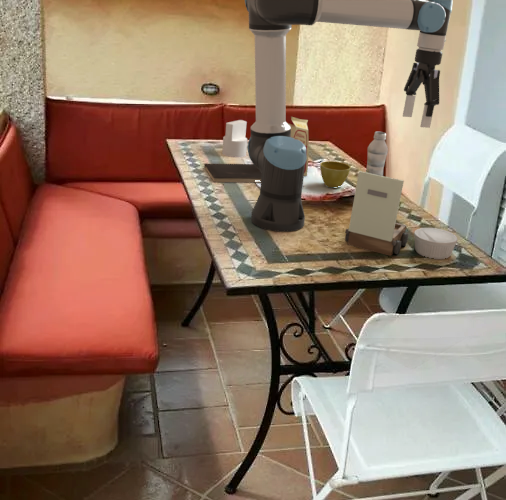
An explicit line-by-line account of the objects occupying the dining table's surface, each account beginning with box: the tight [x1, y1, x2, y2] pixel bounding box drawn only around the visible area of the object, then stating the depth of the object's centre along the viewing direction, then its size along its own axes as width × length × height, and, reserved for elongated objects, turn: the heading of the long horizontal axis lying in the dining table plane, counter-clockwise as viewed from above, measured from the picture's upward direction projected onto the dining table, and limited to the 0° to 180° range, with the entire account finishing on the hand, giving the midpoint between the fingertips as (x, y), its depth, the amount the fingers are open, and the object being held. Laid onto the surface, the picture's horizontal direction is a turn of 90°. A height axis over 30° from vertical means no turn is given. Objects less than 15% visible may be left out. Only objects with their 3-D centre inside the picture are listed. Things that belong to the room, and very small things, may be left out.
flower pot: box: [319, 160, 352, 188], centre depth 235 cm, size 10×10×7 cm
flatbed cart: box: [344, 222, 409, 257], centre depth 190 cm, size 13×14×5 cm
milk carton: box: [287, 116, 310, 177], centre depth 243 cm, size 9×9×20 cm
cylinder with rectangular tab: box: [221, 119, 248, 158], centre depth 260 cm, size 9×9×12 cm
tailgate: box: [348, 170, 405, 242], centre depth 181 cm, size 1×12×16 cm, turn 64°
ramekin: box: [413, 227, 458, 260], centre depth 188 cm, size 11×11×5 cm
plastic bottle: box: [365, 131, 389, 176], centre depth 230 cm, size 6×7×20 cm
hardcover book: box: [203, 163, 262, 183], centre depth 238 cm, size 16×23×2 cm
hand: (415, 121), depth 212 cm, fingers open, 13 cm apart
